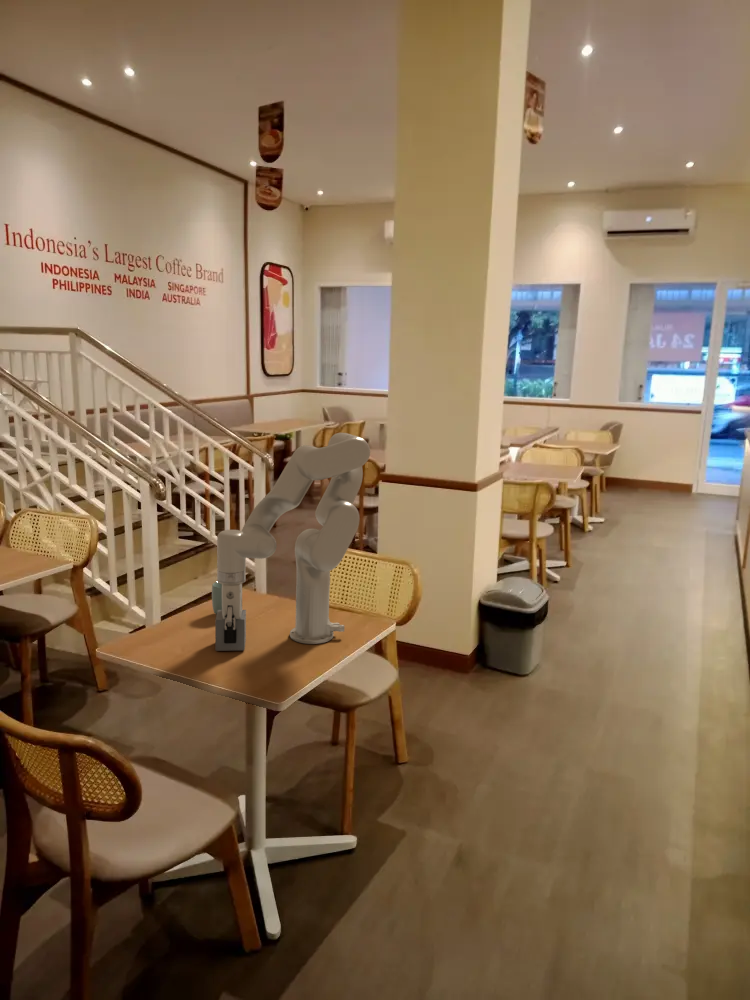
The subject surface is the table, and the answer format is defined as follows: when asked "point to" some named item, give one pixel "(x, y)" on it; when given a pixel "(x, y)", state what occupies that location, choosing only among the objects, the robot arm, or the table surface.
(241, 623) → the matte gray cube
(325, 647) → the table surface
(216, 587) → the cup
